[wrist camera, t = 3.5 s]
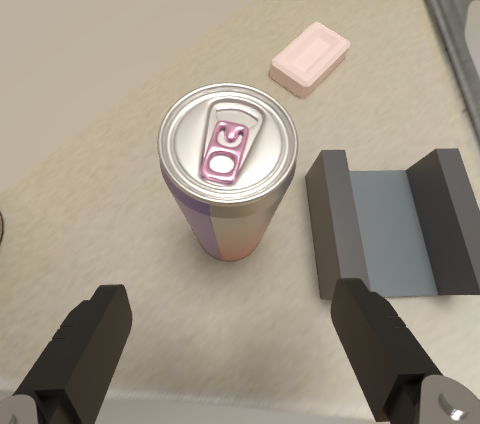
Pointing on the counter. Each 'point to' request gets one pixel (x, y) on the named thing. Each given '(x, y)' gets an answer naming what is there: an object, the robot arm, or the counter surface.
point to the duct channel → (395, 226)
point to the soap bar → (308, 59)
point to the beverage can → (228, 163)
